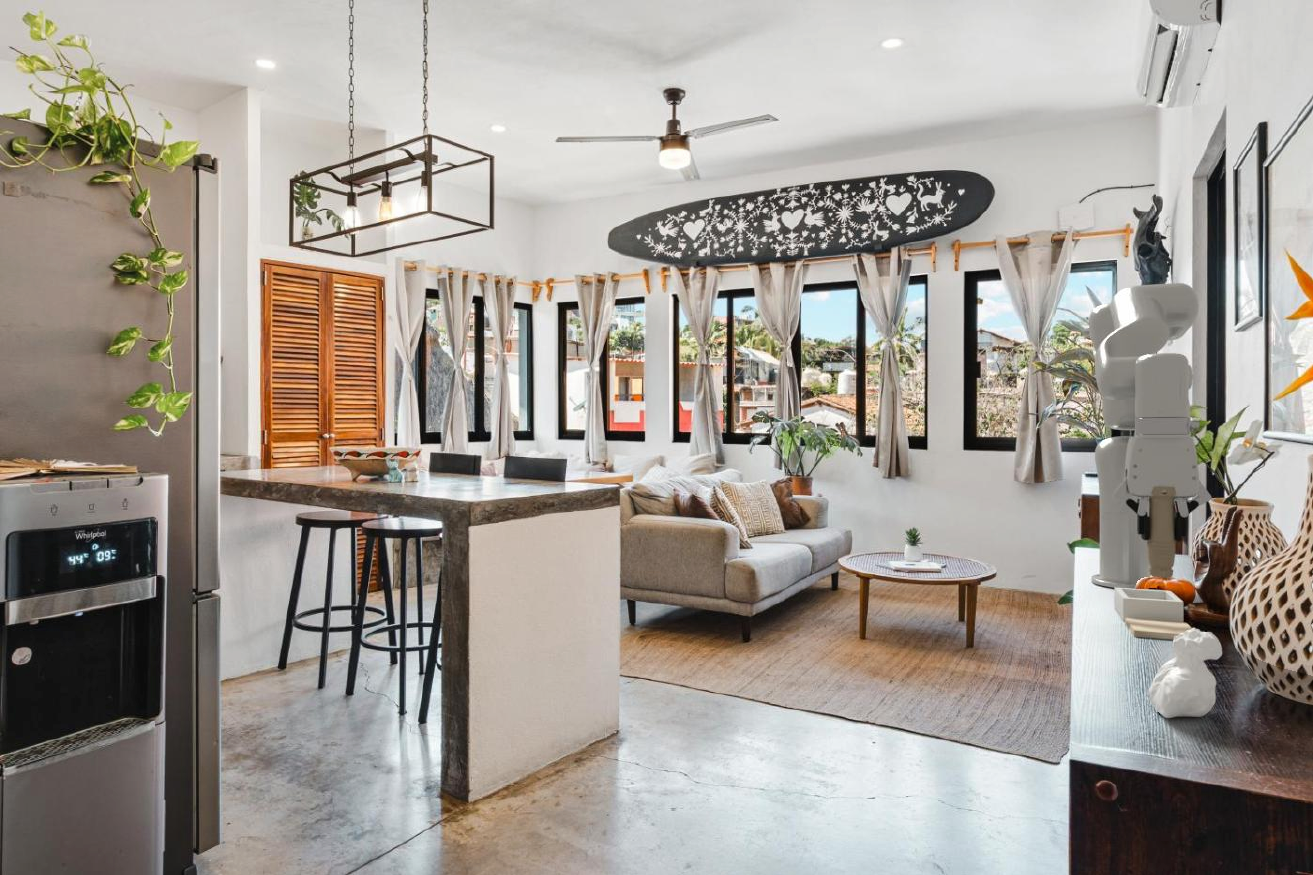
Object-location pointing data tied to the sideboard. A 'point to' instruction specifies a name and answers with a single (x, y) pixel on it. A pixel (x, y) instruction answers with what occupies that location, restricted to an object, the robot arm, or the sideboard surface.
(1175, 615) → the white open box
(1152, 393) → the robot arm
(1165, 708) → the white tied sack
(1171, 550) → the handle
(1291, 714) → the sideboard surface
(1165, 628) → the oak board
